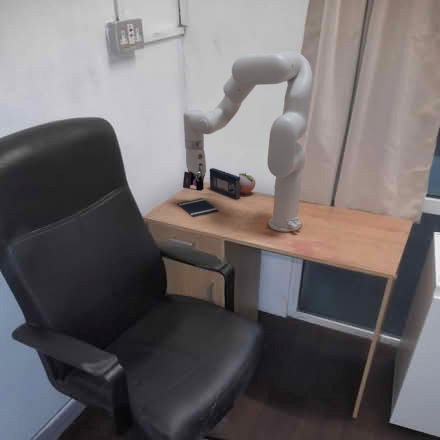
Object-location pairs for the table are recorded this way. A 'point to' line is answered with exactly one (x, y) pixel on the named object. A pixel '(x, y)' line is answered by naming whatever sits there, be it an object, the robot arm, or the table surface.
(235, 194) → the vhs cassette tape
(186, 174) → the monster skateboard toy
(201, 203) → the cloth
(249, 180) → the decorative fruit
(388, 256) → the table surface
